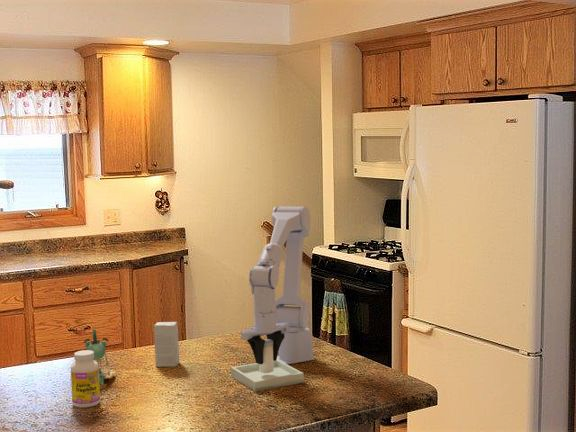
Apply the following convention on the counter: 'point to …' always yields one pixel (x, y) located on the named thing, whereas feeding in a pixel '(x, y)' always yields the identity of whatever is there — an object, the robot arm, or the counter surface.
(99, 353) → the frog figurine
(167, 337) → the skincare box
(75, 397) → the supplement bottle
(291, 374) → the tray
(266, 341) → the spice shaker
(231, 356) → the counter surface
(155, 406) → the counter surface
